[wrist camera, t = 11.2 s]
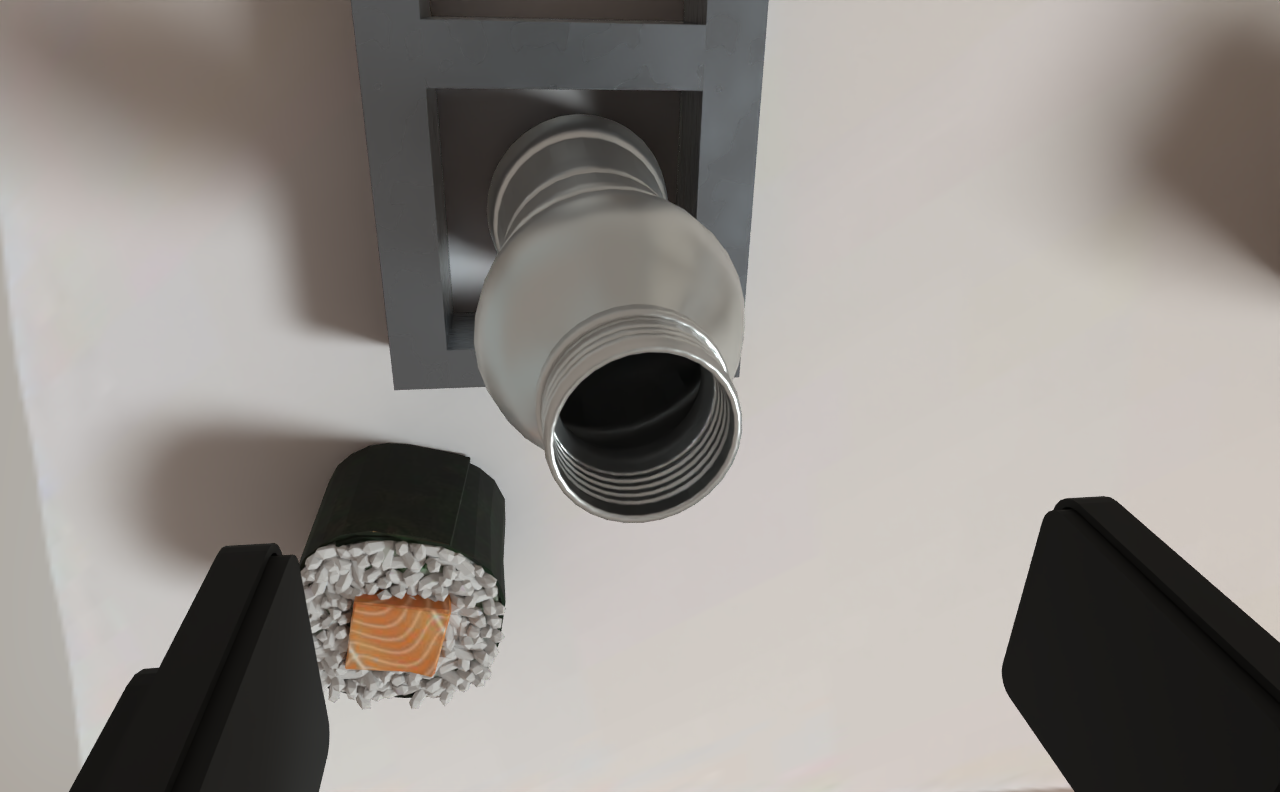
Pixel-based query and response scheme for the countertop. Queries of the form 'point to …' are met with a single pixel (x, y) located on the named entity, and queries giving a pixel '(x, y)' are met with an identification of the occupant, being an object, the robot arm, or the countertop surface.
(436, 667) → the sushi
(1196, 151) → the countertop surface
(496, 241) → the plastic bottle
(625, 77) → the tray
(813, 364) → the countertop surface
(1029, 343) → the countertop surface
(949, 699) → the countertop surface
